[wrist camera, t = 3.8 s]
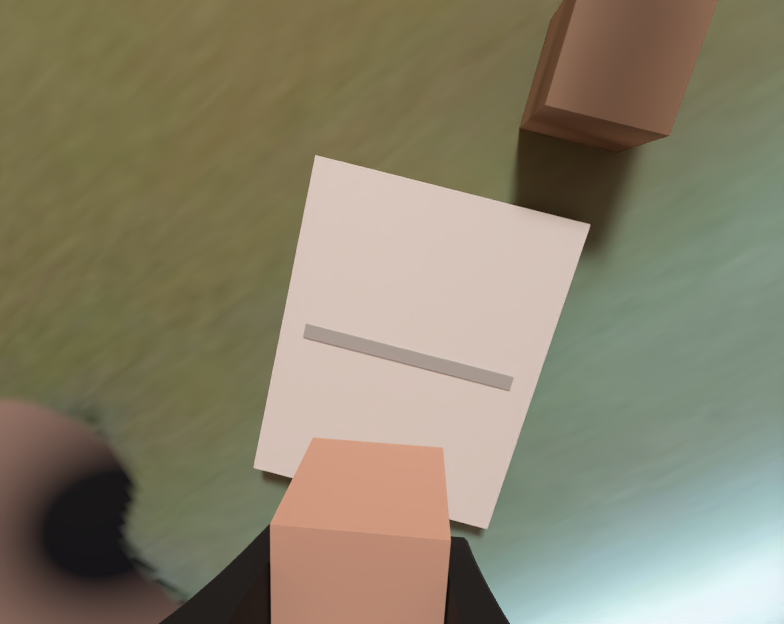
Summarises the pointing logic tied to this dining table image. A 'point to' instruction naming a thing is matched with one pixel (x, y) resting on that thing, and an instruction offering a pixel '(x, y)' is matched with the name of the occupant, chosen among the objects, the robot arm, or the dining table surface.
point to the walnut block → (615, 70)
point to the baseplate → (416, 325)
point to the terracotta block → (362, 536)
